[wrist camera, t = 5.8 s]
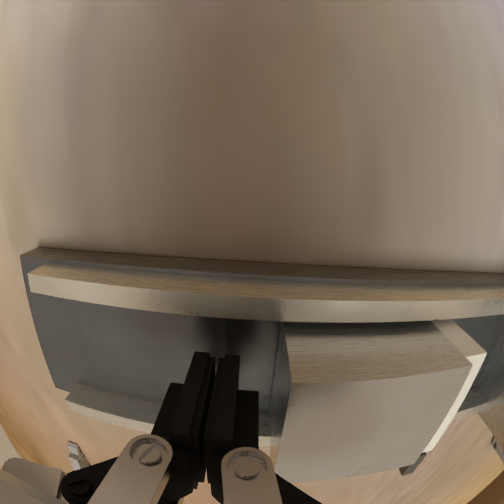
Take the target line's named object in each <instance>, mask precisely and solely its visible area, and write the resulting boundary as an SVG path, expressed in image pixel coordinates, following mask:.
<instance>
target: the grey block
mask: <svg viewBox="0 0 504 504" xmlns="http://www.w3.org/2000/svg"><path fill="white" fill-rule="evenodd" d="M472 366H473V365H472V363H471V362H470V361H469V360H468V359H467V358H466V357H465V356H464V355H463V354H462V353H461V352H460V351H459V350H458V348H457V347H456V346H455V345H454V344H453V343H452V342H451V341H450V340H449V339H448V338H447V337H446V336H445V335H444V334H443V333H442V332H441V331H440V330H439V329H438V328H437V327H436V326H435V325H434V324H433V323H432V322H431V321H430V320H428V321H406V322H364V323H331V322H288V321H280V330H279V339H278V347H277V356H276V364H275V372H274V380H273V387H272V395H271V402H270V409H269V426H270V458H271V461H272V463H273V466H274V471H275V473H276V474H278V475H279V476H281V477H282V478H283V479H285V480H286V481H288V482H307V481H321V480H331V479H340V478H348V477H355V476H361V475H367V474H372V473H378V472H383V471H387V470H392V469H396V468H401V467H405V466H409V465H412V464H414V463H415V462H416V460H417V459H418V458H419V456H420V455H421V454H422V452H423V451H424V449H425V448H426V447H427V445H428V444H429V442H430V441H431V439H432V438H433V436H434V435H435V433H436V432H437V430H438V429H439V427H440V425H441V424H442V422H443V421H444V419H445V417H446V416H447V414H448V412H449V410H450V409H451V407H452V405H453V403H454V402H455V400H456V398H457V396H458V394H459V392H460V391H461V389H462V387H463V385H464V383H465V381H466V379H467V377H468V375H469V372H470V370H471V368H472Z"/></svg>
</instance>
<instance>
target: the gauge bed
mask: <svg viewBox="0 0 504 504" xmlns="http://www.w3.org/2000/svg"><path fill="white" fill-rule="evenodd" d="M20 259H21V266H22V271H23V277H24V282H25V287H26V292H27V297H28V301H29V306H30V310H31V314H32V318H33V321H34V325H35V329H36V332H37V336H38V339H39V342H40V345H41V348H42V351H43V354H44V357H45V360H46V363H47V366H48V369H49V371H50V374H51V377H52V379H53V382H54V384H55V387H56V388H59V389H62V390H65V391H68V392H70V394H69V395H68V396H67V398H66V399H65V401H66V404H67V406H68V408H69V410H70V411H72V412H75V413H78V414H81V415H84V416H87V417H90V418H93V419H97V420H100V421H103V422H107V423H110V424H114V425H118V426H121V427H125V428H129V429H134V430H138V431H142V432H147V433H151V432H152V429H153V427H154V424H155V421H156V419H157V416H158V413H159V411H160V408H161V405H162V403H163V400H164V398H165V395H166V392H167V390H168V387H169V385H170V383H171V382H174V383H181V384H184V382H185V379H186V376H187V372H188V369H189V366H190V364H191V361H192V358H193V355H194V352H195V351H197V352H207V353H210V357H215V376H216V371H217V366H218V361H219V358H225V354H228V355H240V369H239V388H238V390H251V391H259V446H270V426H269V409H270V402H271V395H272V387H273V380H274V372H275V364H276V356H277V347H278V339H279V330H280V321H288V322H331V323H364V322H406V321H428V320H444V319H452V320H453V321H454V322H455V323H456V324H457V325H458V326H459V327H460V328H461V329H463V330H464V331H465V332H466V333H467V334H468V335H469V336H470V337H471V338H472V339H473V340H474V341H475V342H477V343H478V344H479V345H480V346H481V347H482V348H483V349H484V350H485V351H486V352H487V354H486V357H485V359H484V361H483V363H482V365H481V367H480V370H479V372H478V374H477V376H476V378H475V380H474V382H473V384H472V386H471V388H470V390H469V391H468V393H467V395H466V397H465V399H464V401H463V402H462V404H461V406H460V408H459V409H458V411H457V413H456V414H455V416H454V418H453V419H452V421H451V422H453V421H457V420H460V419H463V418H466V417H469V416H472V415H475V414H479V415H480V417H481V418H482V419H483V421H484V422H485V424H486V425H487V427H488V428H489V429H490V431H491V432H492V434H493V435H494V437H495V438H496V440H497V441H498V443H499V444H500V446H501V447H502V449H503V450H504V273H476V272H450V271H425V270H402V269H380V268H359V267H339V266H319V265H301V264H282V263H264V262H247V261H230V260H214V259H197V258H182V257H166V256H151V255H136V254H122V253H107V252H94V251H80V250H66V249H53V248H40V247H38V248H35V249H33V250H31V251H29V252H26V253H24V254H22V255H20Z"/></svg>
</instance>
